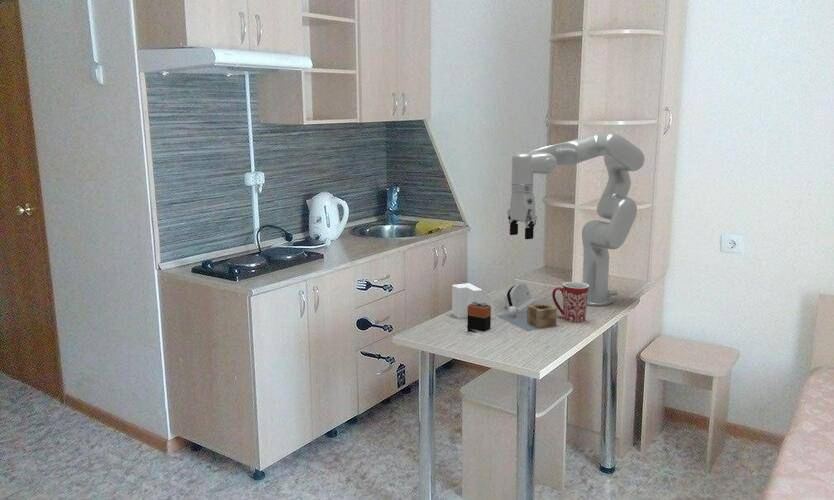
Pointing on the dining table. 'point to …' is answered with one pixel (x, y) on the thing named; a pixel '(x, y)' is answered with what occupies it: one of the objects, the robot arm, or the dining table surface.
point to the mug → (573, 301)
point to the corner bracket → (468, 299)
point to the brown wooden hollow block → (541, 315)
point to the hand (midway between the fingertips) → (521, 236)
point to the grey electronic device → (518, 297)
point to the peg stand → (519, 319)
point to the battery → (479, 317)
